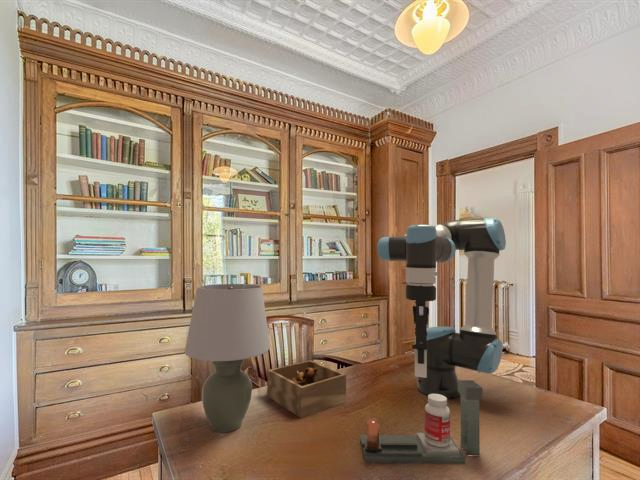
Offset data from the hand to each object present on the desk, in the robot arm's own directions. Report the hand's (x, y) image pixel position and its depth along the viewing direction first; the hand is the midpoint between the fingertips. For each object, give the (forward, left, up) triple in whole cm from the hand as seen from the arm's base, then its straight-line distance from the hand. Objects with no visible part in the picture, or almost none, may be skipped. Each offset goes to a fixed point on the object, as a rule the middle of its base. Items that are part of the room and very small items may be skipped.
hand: (420, 368), depth 85 cm
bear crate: (-43, -4, -21) cm, 48 cm away
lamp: (-43, -33, -21) cm, 58 cm away
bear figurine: (-44, -5, -22) cm, 49 cm away
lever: (-6, -11, -19) cm, 23 cm away
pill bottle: (+2, +4, -19) cm, 19 cm away
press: (0, 0, -21) cm, 21 cm away
